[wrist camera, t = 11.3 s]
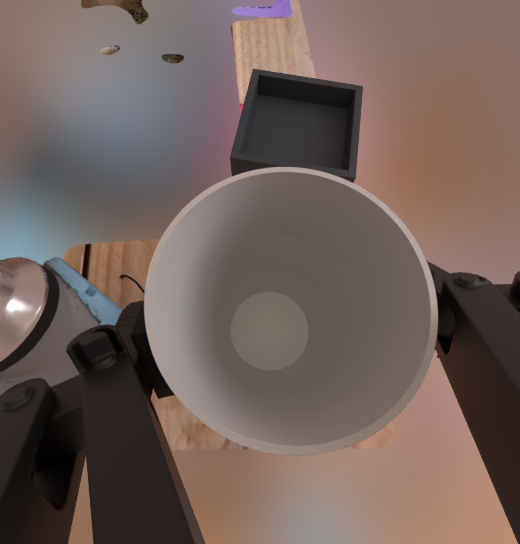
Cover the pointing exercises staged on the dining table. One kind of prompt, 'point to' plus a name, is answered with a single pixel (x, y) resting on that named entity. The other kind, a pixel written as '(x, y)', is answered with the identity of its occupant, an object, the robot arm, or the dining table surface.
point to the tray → (298, 125)
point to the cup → (290, 311)
